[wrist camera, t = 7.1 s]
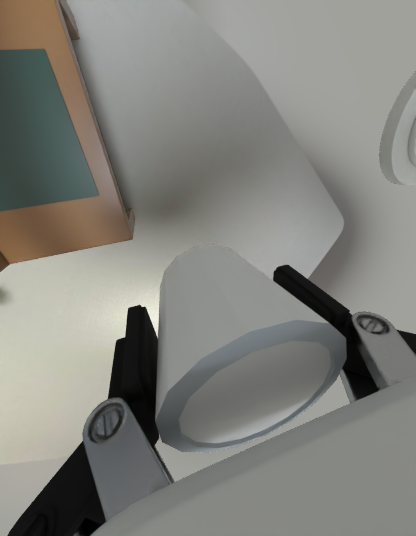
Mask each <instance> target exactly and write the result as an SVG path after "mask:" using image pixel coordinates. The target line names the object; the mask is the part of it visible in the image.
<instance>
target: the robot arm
mask: <svg viewBox="0 0 416 536" xmlns="http://www.w3.org/2000/svg"><path fill="white" fill-rule="evenodd" d="M408 154H409V158H410V160H411V162H412V164H413V165H415V166H416V118H415V121H414V123H413V126H412V129H411V132H410V136H409V143H408ZM273 281H274V282H275V283H277V284H278V285H279V286H281V287H282V288H283V289H285V290H286V291H287V292H289V293H290V294H291V295H293V296H294V297H295V298H297V299H298V300H299V301H301V302H302V303H303V304H305V305H306V306H307V307H309V308H310V309H311V310H313V311H314V312H315V313H317V314H318V315H319V316H321V317H322V318H323V319H325V320H326V321H327V322H329V323H330V324H331V325H332V326H333V327H334V328H335V329H337V330H338V331H339V332H340V333H341V334H342V335H343V336H344V337H345V338H346V354H347V359H346V361H345V363H344V365H343V367H342V369H341V371H340V373H339V374H340V377H341V380H342V382H343V385H344V387H345V390H346V393H347V396H348V398H349V401H350V404H348V405H346V406H343V407H341V408H339V409H336V410H334V411H332V412H330V413H327V414H325V415H323V416H321V417H318V418H316V419H314V420H312V421H310V422H307V423H305V424H303V425H300V426H298V427H296V428H294V429H291V430H289V431H287V432H284V433H282V434H280V435H278V436H275V437H273V438H271V439H269V440H266V441H264V442H262V443H260V444H258V445H255V446H253V447H251V448H249V449H246V450H244V451H242V452H240V453H238V454H235V455H233V456H231V457H229V458H227V459H224V460H222V461H220V462H217V463H216V464H214V465H211V466H209V467H206V468H204V469H202V470H200V471H198V472H196V473H193V474H191V475H189V476H187V477H185V478H183V479H181V480H179V481H177V482H175V481H174V479H173V478H172V476H171V474H170V472H169V471H168V468H167V467H166V465H165V463H164V461H163V459H162V458H161V456H160V454H159V452H158V450H157V448H156V447H155V444H156V442H157V441H158V439H159V431H158V428H157V425H156V422H155V414H156V386H157V357H158V338H157V336H156V333H155V330H154V328H153V325H152V322H151V320H150V317H149V315H148V312H147V309H146V307H141V305H138V306H134V307H130V308H128V314H127V325H126V335H125V338H121V339H118V340H117V341H116V345H115V352H114V359H113V366H112V373H111V380H110V388H109V395H108V399H107V400H105V401H104V402H102V403H101V404H99V405H98V406H97V407H96V408H95V409H94V410H93V411H92V413H91V414H90V415H89V417H88V418H87V421H86V423H85V425H84V429H83V433H82V434H83V441H82V443H81V444H80V445H79V446H78V447H77V449H76V450H75V451H74V452H73V454H72V455H71V456H70V457H69V458H68V460H67V461H66V462H65V463H64V464H63V466H62V467H61V468H60V469H59V471H58V472H57V473H56V474H55V475H54V477H53V478H52V479H51V480H50V482H49V483H48V484H47V485H46V486H45V488H44V489H43V490H42V491H41V492H40V494H39V495H38V496H37V497H36V498H35V500H34V501H33V502H32V503H31V505H30V506H29V507H28V508H27V509H26V511H25V512H24V513H23V514H22V516H21V517H20V518H19V519H18V521H17V522H16V524H15V525H14V526H13V528H12V529H11V531H10V532H9V534H8V536H416V334H412V333H408V332H404V331H399V330H396V329H395V328H394V326H393V325H392V324H391V323H390V322H389V321H388V320H387V319H385V318H383V317H382V316H379V315H377V314H374V313H371V312H358V313H355V314H354V315H351V314H350V313H349V310H348V309H347V308H345V307H344V306H343V305H342V304H340V303H339V302H337V301H336V300H335V299H333V298H332V297H331V296H329V295H328V294H327V293H325V292H324V291H323V290H321V289H320V288H319V287H317V286H316V285H315V284H313V283H312V282H311V281H309V280H308V279H307V278H305V277H304V276H303V275H301V274H300V273H299V272H297V271H296V270H295V269H293V268H292V267H290V266H289V265H283V266H280V267H277V268H276V270H275V271H274V277H273Z"/></svg>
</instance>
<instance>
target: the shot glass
mask: <svg viewBox="0 0 416 536" xmlns="http://www.w3.org/2000/svg"><path fill="white" fill-rule="evenodd" d="M346 359H347V354H346V338H345V337H344V336H343V335H342V334H341V333H340V332H339V331H338V330H337V329H335V328H334V327H333V326H332V325H331V324H330V323H329V322H327V321H326V320H325V319H323V318H322V317H321V316H319V315H318V314H317V313H315V312H314V311H313V310H311V309H310V308H309V307H307V306H306V305H305V304H303V303H302V302H301V301H299V300H298V299H297V298H295V297H294V296H293V295H291V294H290V293H289V292H287V291H286V290H285V289H283V288H282V287H281V286H279V285H278V284H277V283H275V282H274V281H273V280H272V279H270V278H269V277H268V276H266V275H265V274H264V273H262V272H261V271H260V270H258V269H257V268H256V267H254V266H253V265H252V264H250V263H249V262H248V261H246V260H245V259H244V258H242V257H241V256H240V255H238V254H237V253H236V252H234V251H233V250H232V249H230V248H226V247H222V246H219V245H215V244H212V245H205V246H198V247H194V248H192V249H190V250H188V251H186V252H184V253H183V254H181V255H179V256H177V257H176V258H175V260H174V261H173V262H172V263H171V264H170V265H169V267H168V268H167V269H166V270H165V272H164V275H163V279H162V282H161V285H160V301H159V329H158V357H157V386H156V414H155V422H156V425H157V428H158V431H159V434H160V437H161V440H162V442H163V443H165V444H168V445H169V446H171V447H173V448H175V449H177V450H179V451H181V452H204V453H209V452H214V451H219V450H224V449H229V448H233V447H238V446H240V445H243V444H245V443H248V442H251V441H253V440H256V439H258V438H261V437H263V436H266V435H268V434H270V433H271V432H273V431H275V430H277V429H278V428H280V427H282V426H284V425H285V424H287V423H289V422H291V421H292V420H294V419H295V418H297V417H298V416H299V415H300V414H302V413H303V412H304V411H306V410H307V409H308V408H309V407H311V406H312V405H313V404H314V403H316V402H317V401H318V400H319V399H320V397H322V395H323V394H324V393H325V392H326V391H327V390H328V389H329V388H330V386H331V385H332V384H333V383H334V382H335V381H336V379H337V377H338V375H339V373H340V371H341V369H342V367H343V365H344V363H345V361H346Z"/></svg>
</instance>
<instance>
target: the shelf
mask: <svg viewBox="0 0 416 536" xmlns="http://www.w3.org/2000/svg"><path fill="white" fill-rule="evenodd" d="M71 39H80V37H79V33H78V30H77V27H76V23H75V20H74V17H73V14H72V12H71V10H70V8H69V6H68V4H67V2H66V0H0V272H1V271H2V270H3V269H5V268H6V267H7V266H8V265H10V264H13V263H18V262H23V261H28V260H33V259H38V258H43V257H48V256H53V255H58V254H63V253H68V252H73V251H77V250H82V249H87V248H92V247H97V246H102V245H107V244H112V243H117V242H122V241H127V240H132V239H133V232H134V223H135V218H134V214H133V211H132V209H125V207H124V204H123V201H122V198H121V195H120V192H119V189H118V185H117V182H116V179H115V176H114V173H113V170H112V167H111V164H110V160H109V157H108V154H107V151H106V148H105V145H104V142H103V139H102V136H101V132H100V129H99V126H98V123H97V120H96V117H95V114H94V111H93V108H92V104H91V101H90V98H89V95H88V92H87V89H86V86H85V83H84V79H83V76H82V73H81V70H80V67H79V64H78V61H77V58H76V55H75V51H74V48H73V45H72V42H71Z"/></svg>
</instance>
